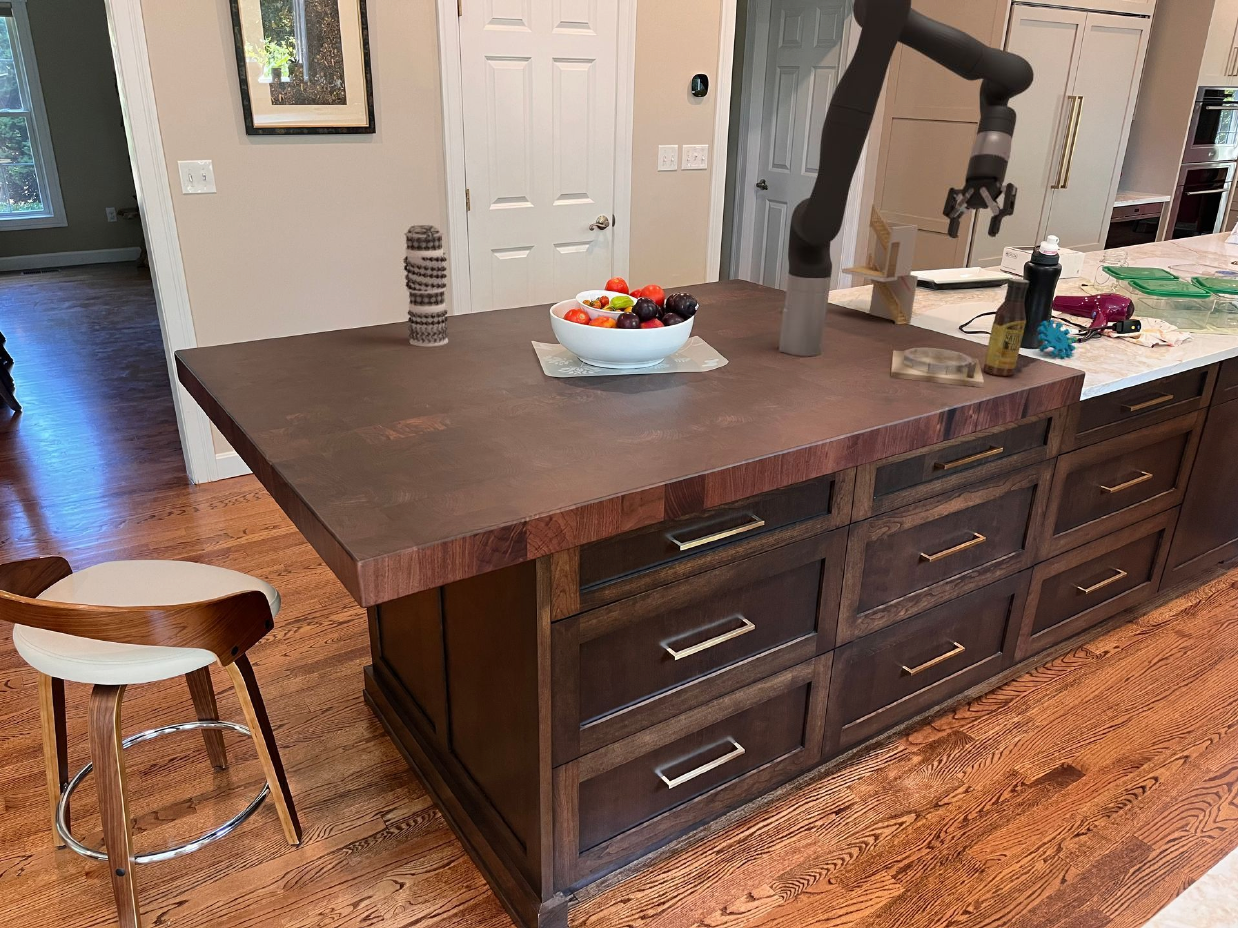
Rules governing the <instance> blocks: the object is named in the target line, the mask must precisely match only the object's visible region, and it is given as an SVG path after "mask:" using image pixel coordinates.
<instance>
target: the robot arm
mask: <svg viewBox="0 0 1238 928" xmlns="http://www.w3.org/2000/svg"><path fill="white" fill-rule="evenodd" d="M852 13H853V17H854V20H855V22H856V23H857V25H858V26H859V27H860V28H861V29H860V30H861V31H860V34H859V38H858V41H857V42H858V43H857V45H856V49H855V51H854V53H853V56H852V59H851V61H850V63H849V64H848V66H847V67H846V69H845V71H844V73H843V75H842V77H841V78H840V80H839V81H838V84H837V85H836V88H835V90H834V92H833V94H832V96H831V99H830V102H829V105H828V108H827V112H826V115H825V119H824V122H823V125H822V130H821V135H820V146H819V161H818V162H819V164H818V170H817V175H816V179H815V183H814V185H813V188H812V190H811V193H810V197H807V198H805V199H803V200H801V201H799V203H798V204H797V205H796V206H795V208H794V210H793V211H792V213H791V218H790V225H789V237H788V238H789V239H788V249H787V251H788V252H787V261H788V274H787V284H786V285H787V286H786V292H785V301H784V302H785V303H784V308H783V309H782V316H781V317H782V319H781V327H780V337H779V347H778V352H781V353H785V354H789V355H794V356H802V357H803V356H804V357H811V356H812V357H815V356H817V355H819V356H820V354H822V353H823V352H822V351H823V350H822V349H823V345H824V336H825V329H826V328H825V327H826V320H827V319H826V318H827V312H828V311H827V310H828V306H829V305H828V304H829V303H828V302H829V296H830V295H829V294H830V287H831V280H832V279H831V278H832V273H833V271H832V270H833V261H832V259H831V243H832V242H833V240H834V239H835V238H836V237H837V236H838V234H839V233H840V231H841V227H842V225H843V221H844V217H845V213H846V206H847V203H848V197H849V192H850V190H851V189H850V188H851V184H852V181H853V178H854V175H855V172H856V170H857V166H858V163H859V161H860V158H861V155H862V152H863V149H864V146H865V143H866V140H867V138H868V136H869V135H868V134H869V131H870V128H871V126H872V122H873V119H874V115H875V113H876V109H877V105H878V103H879V98H880V95H881V92H882V90H883V89H882V88H883V85H884V83H885V78H886V76H887V75H886V74H887V71H888V69H889V64H890V62H891V60H892V56H893V54H894V51H895V49H896V46H897V43H900V44H903V45H905V46H907V47H909V48H911V49H912V50H915V51H916V52H918V53H920V54H922V55H923V56H926V58H927V57H928V58H929V59H931V60H932V61H934V62H935V63H937V64H939V65H940V66H941V67H944V68H945V69H947V70H949V71H950V72H952V73H954V74H956V75H958V76H959V77H961V78H962V79H964V80H967V81H970V82H973V81H977V80H981V83H980V87H979V93H978V94H979V114H980V115H979V116H980V118H979V122H978V127H977V131H976V135H975V138H974V142H973V144H972V147H971V151H970V156H969V159H968V160H969V161H968V164H967V165H968V166H967V170H966V174H965V184H964V186H963V187H962V188H957V189H956V188H955V187H950V188H948V192H947V196H946V198H945V199H946V200H945V203H944V206H943V210H942V215H943V216H945V217H946V218H947V219H949V223H948V227H947V234H948V236H949V237H950V238H951V239H957V238H958V233H959V229H960V226H961V220H962V219H963V218H964V217H965V215H968V214H969V212H971V211H972V210H980V209H981V210H986V209H987V210H988V209H990V211H991V213H992V214H993V216H991V217H990V221H989V224H988V225H989V226H988V231H987V234H988V236H989V237H991V238H995V237H996V236H997V235H999V232H1000V229H1001V225H1002V222H1003V221H1002V220H1003V219H1004V218H1005V217H1008V216H1009V217H1011V216H1013V214H1014V212H1015V205H1016V199H1017V193H1018V187H1017V186H1016V185H1014V184H1013V183H1012V182H1008V183H1006V185H1003V184H1004V181H1005V180H1006V179H1005V177H1006V174H1007V170H1008V166H1009V165H1008V164H1009V160H1010V157H1011V153H1012V152H1011V151H1012V143H1013V138H1014V137H1013V136H1014V133H1015V132H1014V131H1015V129H1016V123H1017V113H1016V111H1015V109H1014V108H1012V107H1010V106H1008V104H1009V101H1010V99H1013V98H1015V97H1017V96H1018V95H1021V94H1022V93H1024V92H1026V91H1027V90H1028V89H1029V88H1030V87H1031V85H1032V83H1033V81H1034V75H1035V74H1034V70H1033V67H1032V65H1031V64H1030V63H1029V61H1028V60H1026V59H1025V58H1024V57H1022V56H1021V55H1019V54H1016V53H1013V52H1010V51H1006V50H1003V49H1000V48H996V47H995V48H994V47H991V46H988V45H986V44H985V43H983V42H981V41H980V40H978V39H976V38H975V37H973V36H972V35H970V34H968V33H966V32H965V31H963V30H961V29H958V28H957V27H954V26H952V25H951V26H950V25H948V24H945V23H943V22H940V21H937V20H935V19H933V18H930V17H928V16H926V15H924V14H922V13H920V12H919V11H917V10H916V9H914V8H913V7H912V0H853V4H852ZM1002 194H1003V195H1004V196H1003V201H1002V202H1003V205H1002V207H1001V206H1000V204H999V202H998V199H999V198H1000V197H1001V195H1002ZM961 197H962V198H961ZM958 201H959V202H958Z"/></svg>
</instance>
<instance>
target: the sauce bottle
mask: <svg viewBox="0 0 1238 928" xmlns="http://www.w3.org/2000/svg"><path fill="white" fill-rule="evenodd" d="M1029 284H1030V281H1029V280H1026V279H1021V278H1013V277H1012V278H1009V279H1008V280H1007V289H1006V293H1005V294H1006V295H1005V297H1004V301H1003V302H1002V303H1001V304H1000V306H999V307H997V308H996V311H995V313H994V318H993V321H992V325H991V330H990V336H989V340H988V342H987V343H988V344H987V348H986V353H985V356H984V357H985V358H984V360H983V361H984V365H983V371H984V372H985V373H987V374H990V375H992V374H993V375H992V376H1001V377H1008V376H1011V375H1013V374H1014V371H1015V368H1016V366H1017V361H1018V357H1019V353H1020V348H1021V345H1022V340H1023V336H1024V331H1025V327H1026V323H1027V319H1026V308H1025V301H1026V300H1025V299H1026V295H1027V290H1028V288H1029V286H1030V285H1029Z"/></svg>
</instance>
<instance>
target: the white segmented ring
mask: <svg viewBox="0 0 1238 928" xmlns="http://www.w3.org/2000/svg"><path fill="white" fill-rule="evenodd" d="M916 358H936V359H944V360H948V361H952V362H956V363H958V364H940V363H931V362H927V361H923V360H919V359H916ZM972 359H973V358H972V357H971V356H969V355H967V354H964V353H963V352H958V351H954V350H951V349H945V348H935V347H913V348H909V349H906V350H904V358H903V364H904V365H906V366H908V367H910V368H911V369H915V370H919V371H922V372H926V373H933V374H942V375H958V374H964V373H967V378H974V374H975V368H976V363H974V362H972Z"/></svg>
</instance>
